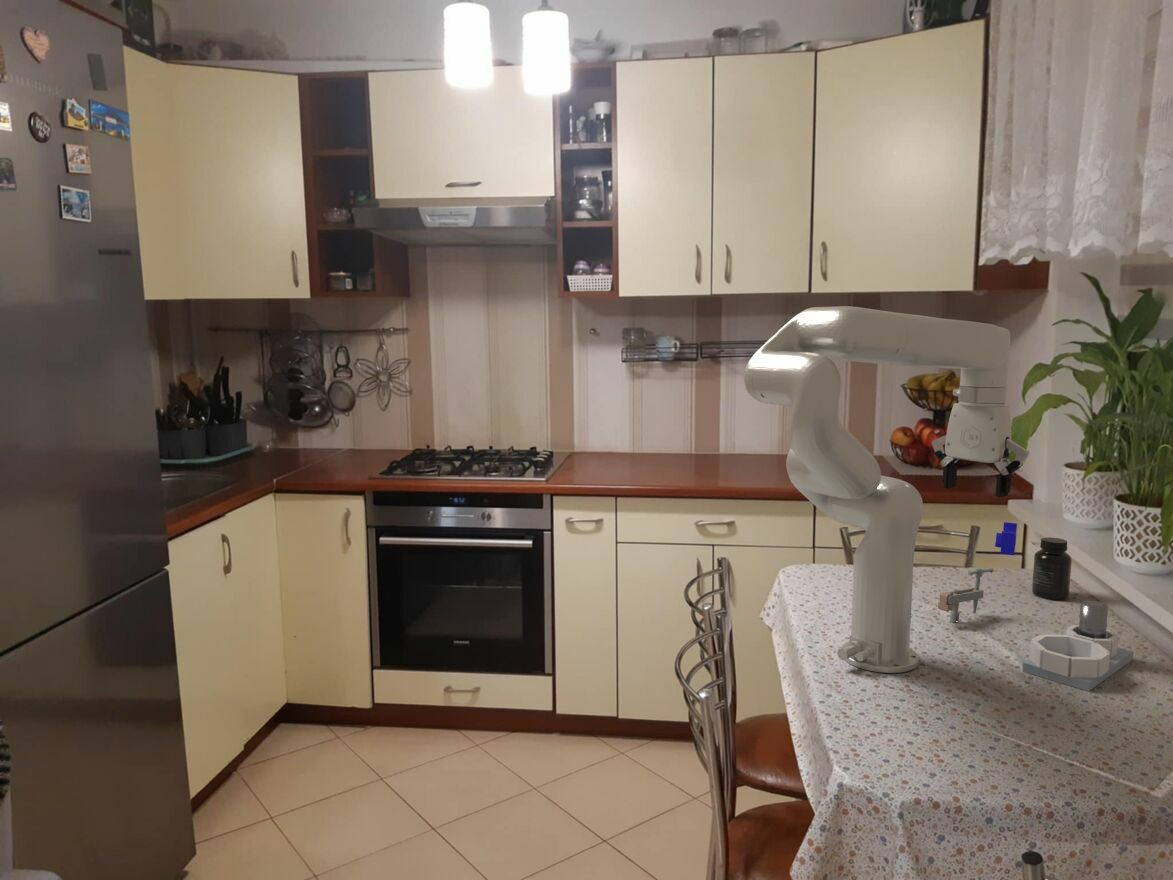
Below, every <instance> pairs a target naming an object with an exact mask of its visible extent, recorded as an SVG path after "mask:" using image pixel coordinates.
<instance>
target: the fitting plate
mask: <svg viewBox="0 0 1173 880" xmlns="http://www.w3.org/2000/svg"><path fill="white" fill-rule="evenodd" d="M1065 630H1066V631H1065V634H1049V633H1048V634H1039V635H1037V636H1036V637H1033V638H1032V639H1030V645H1029V658H1028V659H1027V660H1025V661H1023V662H1022V672H1024V673H1027V674H1030V675H1033V676H1036V677H1041V678H1043V679H1047V680H1050V681H1053V682H1056V683H1059V684H1062V685H1067V686H1068V687H1069V686H1070V687H1073V688H1076V689H1078V690H1079V689H1080V690H1083V691H1086V692H1090V691H1091V690H1093V689H1094V688H1096V687H1097V686H1098V685H1100V684H1101V683H1102V682H1104V681H1105V680H1107V679H1109V678H1110V677H1111V676H1112V675H1113V674H1115V673H1116V672H1118V671H1120V670H1121V669H1122V668H1123V667H1125V666H1126V665H1127V664H1129V663H1131V662H1132V661H1133V660H1134V651H1133V650H1131V649H1130V650H1129V649H1126V648H1122V647H1119V639H1120V638H1119V635H1118V634H1116V633H1115V632H1113V630H1109V628H1108V629H1107V630H1106V639H1093V638H1089V637H1085V636H1081V635H1079V624H1074V625H1073V624H1072V625H1070V626H1068V627H1066V629H1065Z"/></svg>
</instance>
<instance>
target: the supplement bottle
mask: <svg viewBox="0 0 1173 880" xmlns="http://www.w3.org/2000/svg"><path fill="white" fill-rule="evenodd" d="M1039 547H1040V550H1037V551H1036V552H1035V553H1034V557H1033V570H1032V571H1033V573H1032V582H1031V584H1032V585H1031V592H1032V594H1033V595H1034V596H1036V597H1037V598H1041V599H1044V600H1048V601H1064V600H1065V601H1066V600H1068V598H1069V597H1070V587H1071V576H1072V575H1071V574H1072V557H1071V555H1070V554H1069V553H1067V551H1068V541H1067V540H1066V539H1065V538H1059V537H1050V536H1049V537H1046V536H1045V537H1041V539H1040V545H1039Z"/></svg>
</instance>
